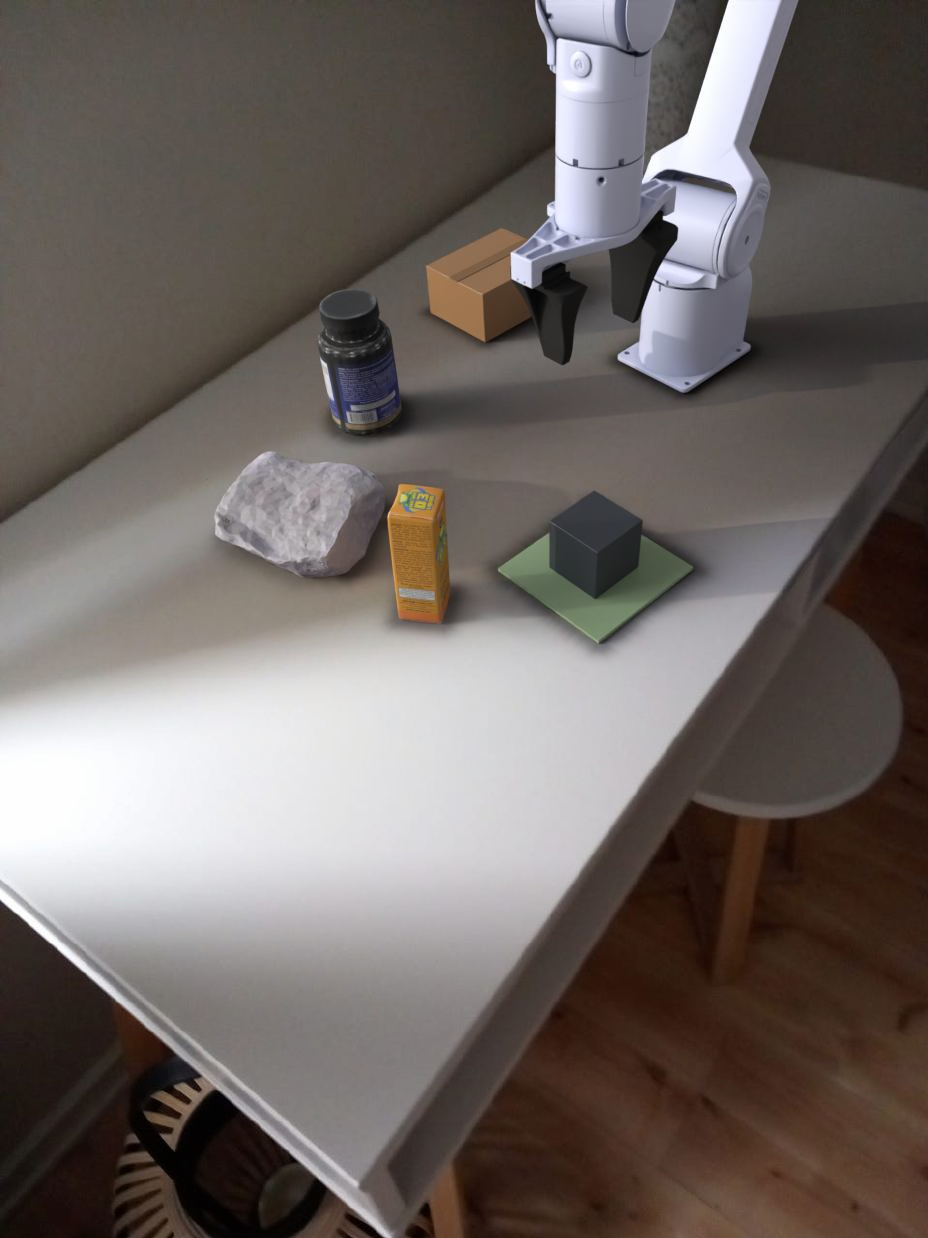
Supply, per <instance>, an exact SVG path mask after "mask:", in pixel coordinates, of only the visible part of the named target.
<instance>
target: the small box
mask: <svg viewBox="0 0 928 1238" xmlns="http://www.w3.org/2000/svg"><path fill="white" fill-rule="evenodd" d="M643 522H644V520H643V519H642V518H640V517H638V516H637V515H635V514H633V513H632V512H631V511H629V510H627V509H625V508H624V507H622V506H621V505H619V504H618V503H615V502H614V501H613V500H611V499H609V498H608V497H606V496H605V495H603V494H601V493H599V492H598V491H597V490H592V491H591V492H590V493H588V494H587V495H585V496H584V497H582V498H581V499H579V500H577V502H575V503H574V504H572V505H570V506H569V507H568V508H566V509H564V511H561V512H560V513H559V514H558V515H556V516H555V517H553V518H552V519H550V520H549V522H548V525H549V528H548V530H549V532H548V533H549V567H550V568H551V569H552V570H554V571H555V572H557V573H558V574H559V575H561V576H562V577H564V578H565V579H567V580H568V581H570V582H571V583H572V584H574V585H575V586H577V587H578V588H580V589H581V590H582V591H584V592H585V593H587V594H588V595H590V596H591V597H593V598H594V599H596V598H598V597H599V596H600V595H602V594H603V593H604V592H606V591H607V590H608V589H610V588H611V587H612V586H614V585H615V584H616V583H617V582H619V581H620V580H621V579H623V578H624V577H625V576H627V575H628V574H629V573H631V572H632V571H633V570H635V569H636V568H637V567H638V564H639V554H640V544H641V535H643V534H642V532H643Z"/></svg>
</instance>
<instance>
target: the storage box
mask: <svg viewBox="0 0 928 1238" xmlns="http://www.w3.org/2000/svg"><path fill="white" fill-rule="evenodd" d="M529 239H530V238H528V237H523V236H520V235H519V234H516V233H514V232H512V231H510V230H508V229H505V228H504V227H501V228H499V229H496V230H495V231H493V232H491V233H489V234H487V235H485V236H483V237H480V238H478V239H477V240H474V241H473V242H471V243H468V244H467V245H465V246H463V247H460V248H459V249H457V250H455V251H453V252H451V253H449V254H447V255H445V256H443V257H441V258H438V259H437V260H435V261H432V262H430V263H429V264H427V265H425V270H426V279H427V289H428V298H429V309H430V313H431V314H432V315H434V316H436V317H437V318H440V319H442V320H443V321H445V322H447V323H449V324H450V325H452V326H454V327H455V328H457V329H460V330H462V331H463V332H465V333H467V334H469V335H471V336H472V337H474V338H476V339H478V340H480V341H481V342H484V343H487V342H489V341H491V340H493V339H494V338H497V337H498V336H500V335H502V334H503V333H505V332H507V331H509V330H511V329H512V328H514V327H515V326H518V325H519V324H521V323H523V322H525V321H527V320H529V319H531V318H532V315H531V313H530V311H529V309H528V307H527V305H526V303H525V301H524V299H523V297H522V296H521V294H520V292H519V291H518V289H517V288H516V286H515V285H514V283H513V282H512V281H511V278H510V266H511V252H512V251H514V250H516V249H518V248H519V247H521V246H522V245H524V244H525V243H526V242H527V241H528V240H529Z"/></svg>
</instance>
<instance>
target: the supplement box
mask: <svg viewBox="0 0 928 1238" xmlns="http://www.w3.org/2000/svg"><path fill="white" fill-rule="evenodd" d="M446 505H447V504H446V491H445V489H443V488H438V487H433V486H424V485H417V484H406V483H400V484H399V485H398V488H397V494H396V496H395V499H394V501H393V504H392V507H390V509H389V511H388V513H387V528H388V537H389V546H390V547H389V548H390V557H391V566H392V574H393V581H394V582H393V583H394V591H395V599H396V607H397V614H398V618H399V619H401V620H403V621H412V622H419V623H428V624H429V623H431V624H442V623H443V620H444V617H445V614H446V610H447V607H448V603H449V600H450V597H451V582H450V563H449V562H450V561H449V543H448V524H447V506H446Z"/></svg>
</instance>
